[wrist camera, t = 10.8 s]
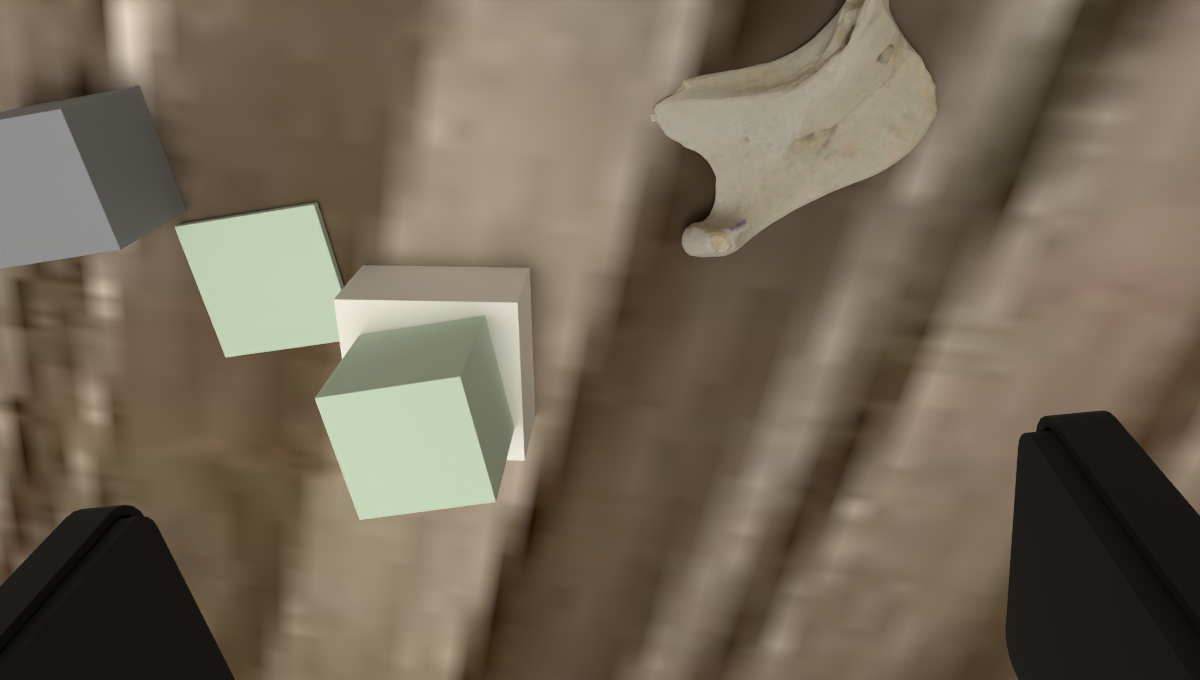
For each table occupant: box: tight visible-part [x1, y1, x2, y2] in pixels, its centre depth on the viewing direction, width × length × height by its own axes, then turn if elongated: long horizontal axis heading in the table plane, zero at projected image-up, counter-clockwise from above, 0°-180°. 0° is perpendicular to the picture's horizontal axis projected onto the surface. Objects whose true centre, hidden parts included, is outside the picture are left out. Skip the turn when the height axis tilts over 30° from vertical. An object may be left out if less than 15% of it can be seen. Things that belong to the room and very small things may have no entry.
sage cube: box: [315, 315, 514, 520], centre depth 31 cm, size 5×5×5 cm
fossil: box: [650, 0, 938, 257], centre depth 31 cm, size 7×11×3 cm, turn 123°
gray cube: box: [0, 86, 186, 269], centre depth 32 cm, size 5×5×5 cm
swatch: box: [175, 202, 344, 357], centre depth 36 cm, size 6×6×1 cm
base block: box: [334, 265, 535, 460], centre depth 35 cm, size 7×7×4 cm
